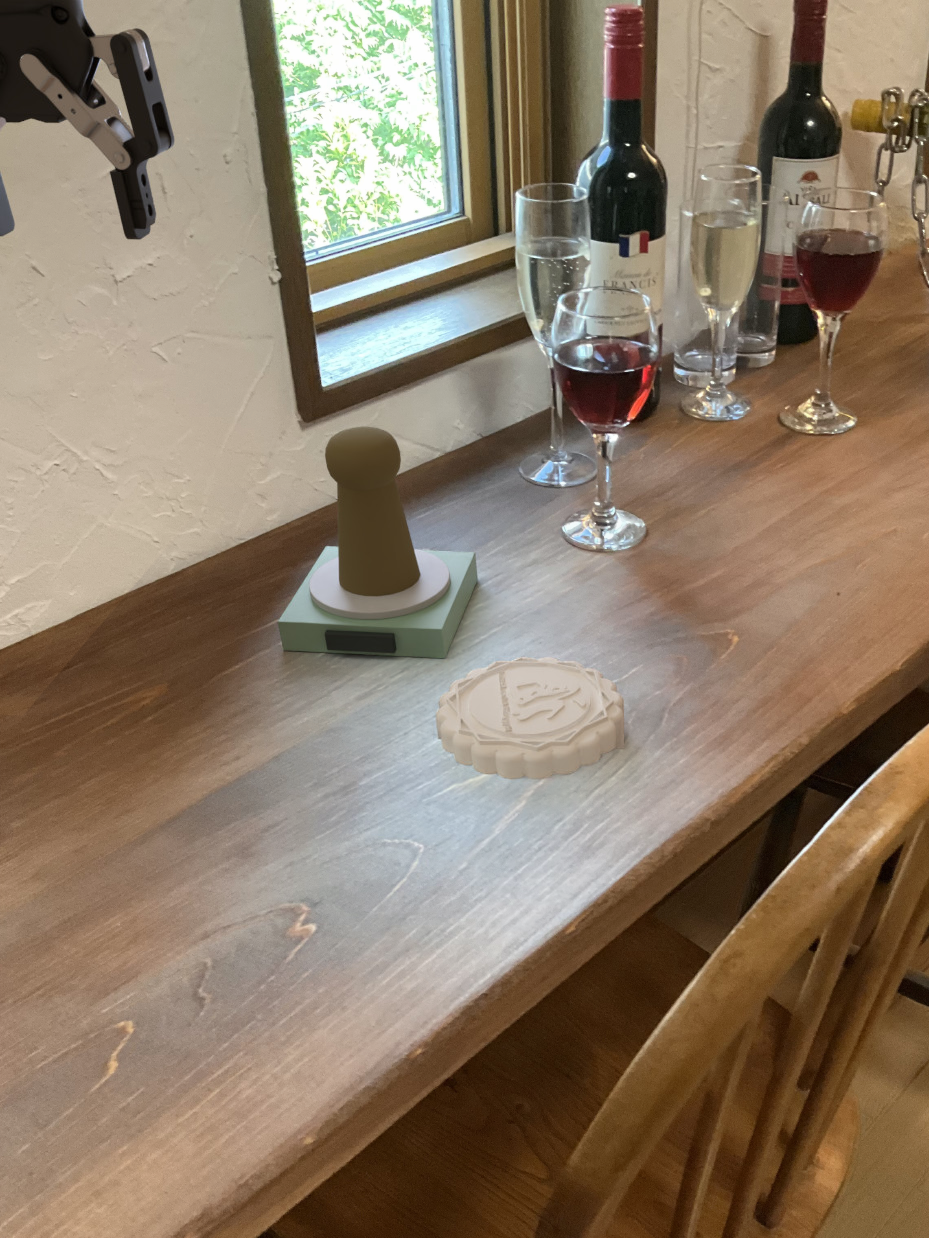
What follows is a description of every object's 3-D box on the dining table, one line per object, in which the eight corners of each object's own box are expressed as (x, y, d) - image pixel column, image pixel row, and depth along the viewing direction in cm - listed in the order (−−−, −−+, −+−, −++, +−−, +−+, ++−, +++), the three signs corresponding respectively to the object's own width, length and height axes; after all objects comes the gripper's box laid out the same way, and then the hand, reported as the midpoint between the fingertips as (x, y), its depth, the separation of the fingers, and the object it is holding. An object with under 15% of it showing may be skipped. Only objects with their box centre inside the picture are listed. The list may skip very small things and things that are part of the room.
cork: (330, 567, 96) (306, 425, 89) (407, 552, 98) (390, 411, 91) (349, 602, 92) (326, 456, 85) (430, 586, 93) (414, 441, 87)
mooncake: (637, 790, 79) (637, 743, 76) (443, 809, 77) (437, 761, 75) (611, 687, 88) (610, 642, 86) (437, 702, 87) (431, 656, 84)
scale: (280, 654, 92) (273, 617, 90) (330, 573, 102) (324, 538, 100) (443, 662, 91) (439, 625, 89) (477, 579, 101) (474, 544, 99)
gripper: (-190, -96, 63) (-76, 250, 73) (83, -98, 62) (161, 254, 72) (-107, -104, 69) (-12, 217, 79) (145, -106, 68) (208, 221, 78)
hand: (70, 235), depth 76 cm, fingers open, 8 cm apart
